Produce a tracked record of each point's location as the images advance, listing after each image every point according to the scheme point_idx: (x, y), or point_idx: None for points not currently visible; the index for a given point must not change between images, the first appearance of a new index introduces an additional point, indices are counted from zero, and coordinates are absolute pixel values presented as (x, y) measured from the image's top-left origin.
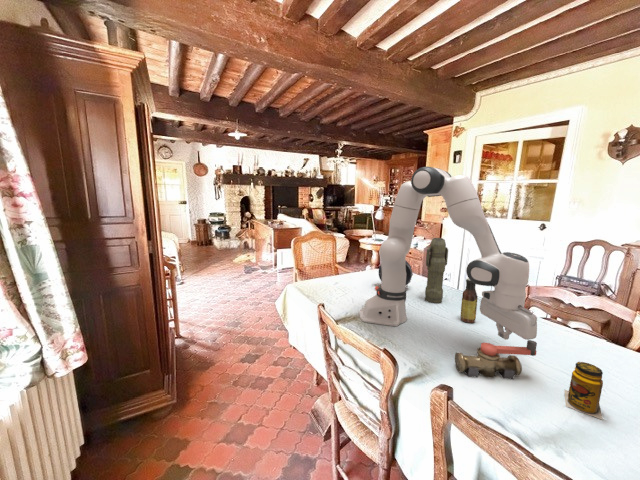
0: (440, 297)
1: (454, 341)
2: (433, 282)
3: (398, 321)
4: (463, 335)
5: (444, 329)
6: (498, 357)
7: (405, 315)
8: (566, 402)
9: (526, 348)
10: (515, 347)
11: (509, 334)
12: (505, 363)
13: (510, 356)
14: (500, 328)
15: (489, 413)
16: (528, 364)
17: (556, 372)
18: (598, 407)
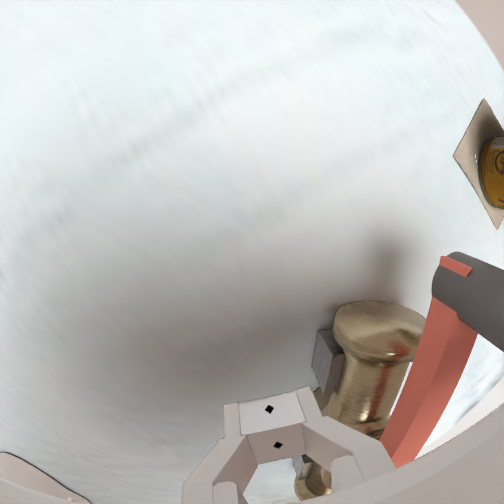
0: None
1: (112, 420)
2: None
3: (71, 500)
4: (42, 358)
5: (28, 401)
6: None
7: (31, 481)
8: (490, 212)
9: (464, 325)
10: (435, 392)
11: (335, 426)
12: (399, 387)
13: (376, 358)
14: (239, 479)
15: (453, 419)
16: (290, 165)
17: (351, 72)
18: (501, 131)
